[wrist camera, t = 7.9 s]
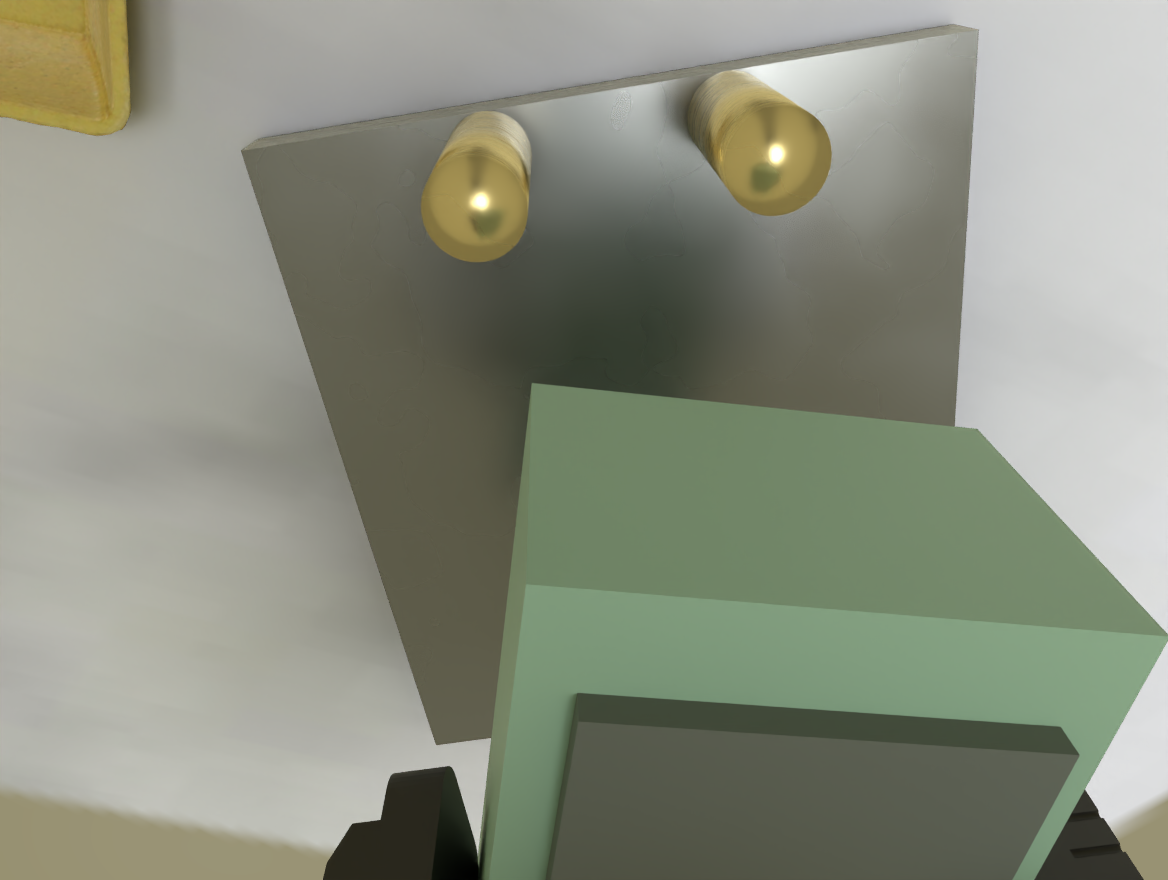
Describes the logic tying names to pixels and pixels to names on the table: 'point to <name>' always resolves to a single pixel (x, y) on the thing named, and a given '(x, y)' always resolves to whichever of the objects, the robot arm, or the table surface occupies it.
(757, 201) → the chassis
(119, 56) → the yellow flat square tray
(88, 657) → the table surface
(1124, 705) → the green rectangular block
